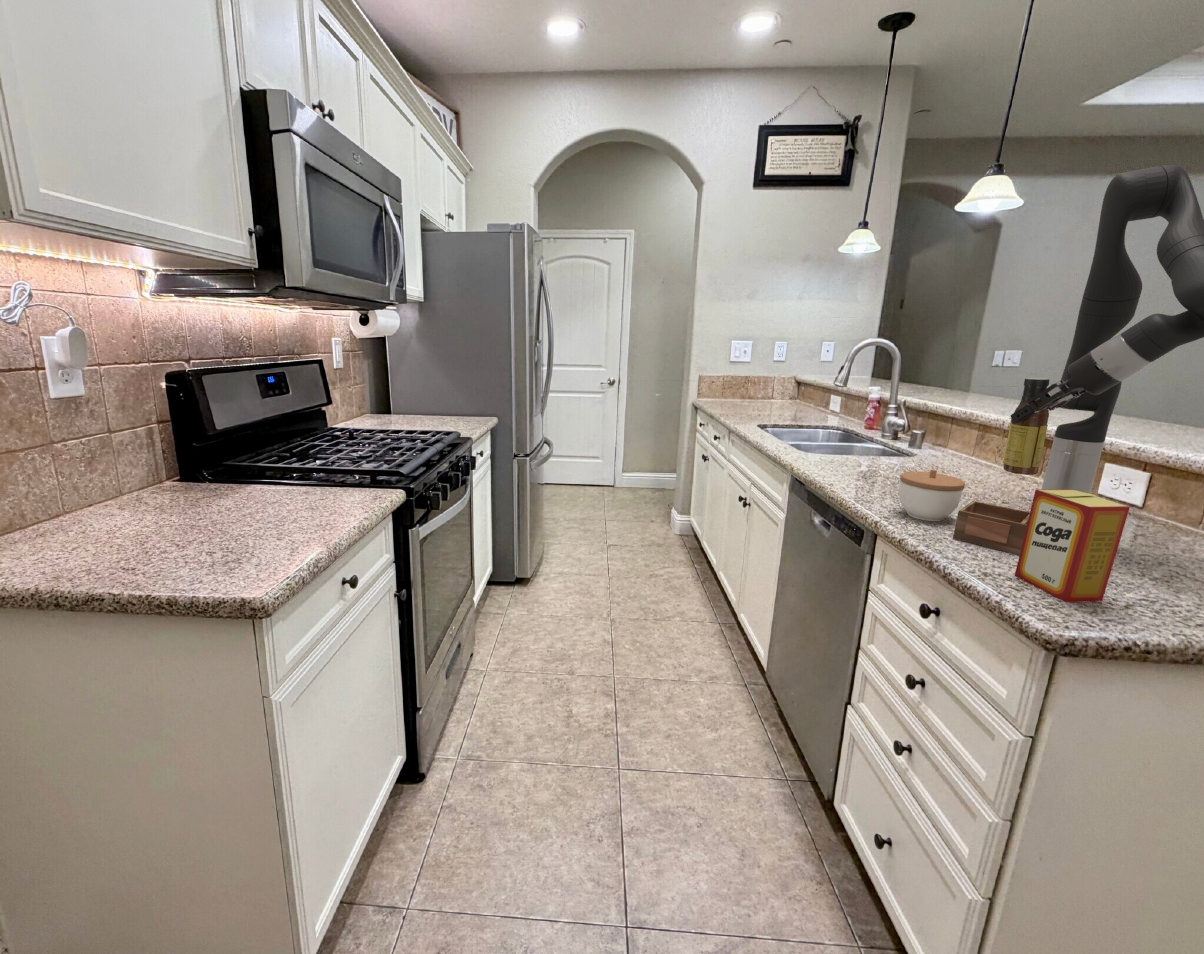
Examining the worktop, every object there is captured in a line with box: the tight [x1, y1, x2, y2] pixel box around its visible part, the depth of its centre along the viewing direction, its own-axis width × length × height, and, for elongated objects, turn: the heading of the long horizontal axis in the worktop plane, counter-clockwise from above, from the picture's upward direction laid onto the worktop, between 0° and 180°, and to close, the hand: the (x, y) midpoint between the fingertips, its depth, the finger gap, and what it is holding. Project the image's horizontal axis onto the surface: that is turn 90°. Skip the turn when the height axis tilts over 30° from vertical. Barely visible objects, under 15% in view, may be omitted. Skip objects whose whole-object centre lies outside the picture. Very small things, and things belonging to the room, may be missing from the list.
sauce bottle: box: [1002, 377, 1050, 476], centre depth 113 cm, size 7×6×20 cm
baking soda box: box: [1014, 489, 1131, 603], centre depth 88 cm, size 10×6×16 cm
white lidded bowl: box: [898, 468, 966, 522], centre depth 123 cm, size 13×13×11 cm
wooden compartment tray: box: [952, 500, 1030, 556], centre depth 106 cm, size 11×21×6 cm, turn 43°
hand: (1020, 418), depth 114 cm, fingers closed on sauce bottle, 6 cm apart
